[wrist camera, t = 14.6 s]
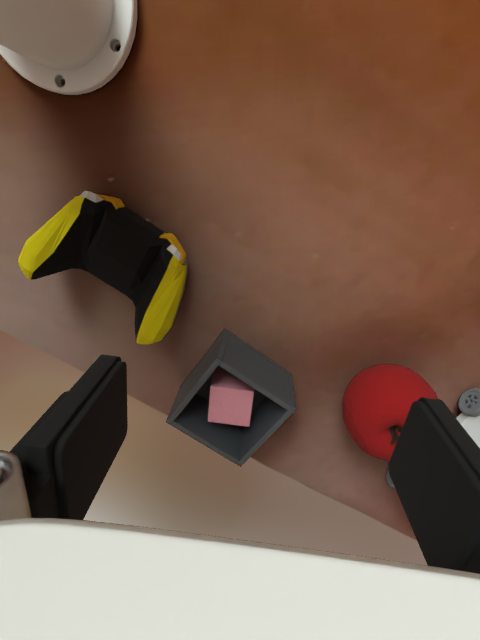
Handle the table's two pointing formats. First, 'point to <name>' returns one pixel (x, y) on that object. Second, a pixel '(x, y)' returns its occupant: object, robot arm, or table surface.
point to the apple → (381, 406)
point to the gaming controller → (114, 257)
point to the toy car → (464, 418)
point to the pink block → (229, 399)
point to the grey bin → (267, 408)
